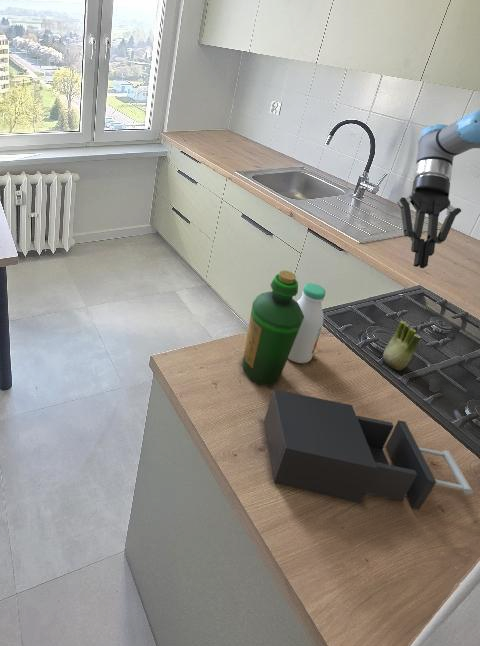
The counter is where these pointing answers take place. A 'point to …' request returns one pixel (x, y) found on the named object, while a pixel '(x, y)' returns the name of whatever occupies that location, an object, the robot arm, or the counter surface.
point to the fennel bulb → (401, 347)
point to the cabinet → (318, 446)
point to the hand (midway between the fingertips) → (420, 265)
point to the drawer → (404, 464)
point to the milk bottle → (308, 323)
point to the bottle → (272, 330)
